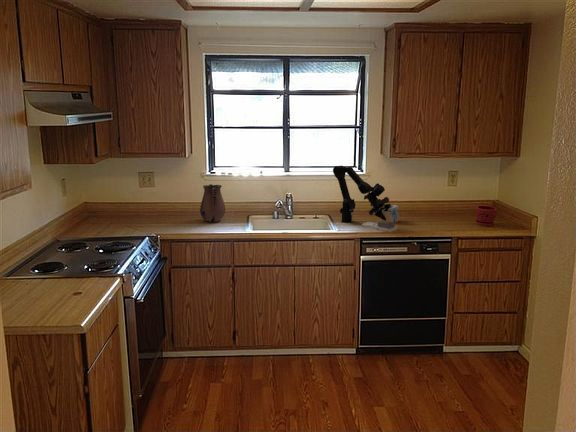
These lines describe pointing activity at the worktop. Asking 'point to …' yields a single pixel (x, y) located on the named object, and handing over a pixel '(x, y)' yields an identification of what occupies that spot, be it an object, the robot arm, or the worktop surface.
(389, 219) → the sanding block
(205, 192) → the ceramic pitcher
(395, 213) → the light bulb box
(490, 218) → the plant pot
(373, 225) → the marked board
